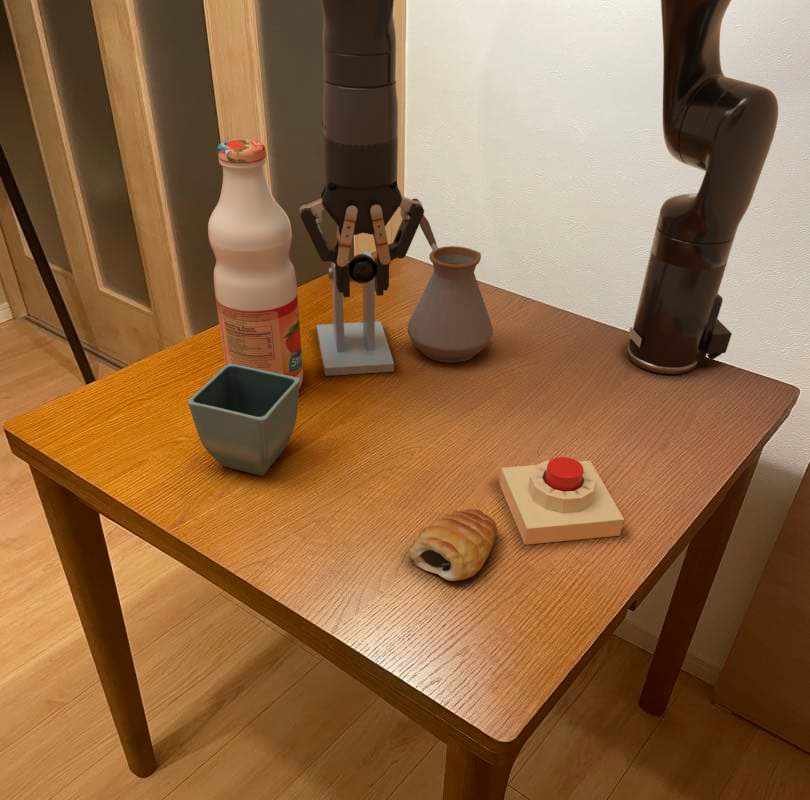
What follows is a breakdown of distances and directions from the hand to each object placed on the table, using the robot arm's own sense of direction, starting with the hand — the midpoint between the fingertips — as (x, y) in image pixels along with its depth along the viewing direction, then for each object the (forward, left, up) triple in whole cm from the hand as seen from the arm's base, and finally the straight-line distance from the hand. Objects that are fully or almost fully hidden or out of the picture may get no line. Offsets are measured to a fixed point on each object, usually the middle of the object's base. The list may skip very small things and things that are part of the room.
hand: (362, 292), depth 92 cm
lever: (0, -4, -1) cm, 4 cm away
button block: (-17, +26, -13) cm, 34 cm away
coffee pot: (-12, -14, -13) cm, 23 cm away
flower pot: (+14, +13, -13) cm, 23 cm away
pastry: (-5, +31, -13) cm, 34 cm away
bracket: (0, -10, -13) cm, 16 cm away
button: (-17, +26, -9) cm, 32 cm away
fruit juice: (+12, -3, -13) cm, 18 cm away
